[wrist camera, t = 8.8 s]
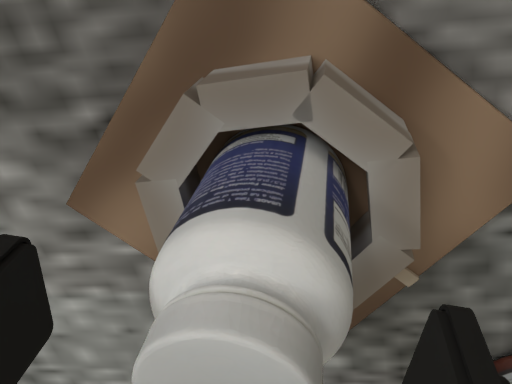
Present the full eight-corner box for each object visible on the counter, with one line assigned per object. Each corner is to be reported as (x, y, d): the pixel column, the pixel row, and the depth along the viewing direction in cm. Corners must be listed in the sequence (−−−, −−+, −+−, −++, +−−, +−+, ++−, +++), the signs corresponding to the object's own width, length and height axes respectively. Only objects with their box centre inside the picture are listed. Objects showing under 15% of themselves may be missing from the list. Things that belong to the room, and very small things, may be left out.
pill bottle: (190, 196, 18) (62, 405, 10) (255, 91, 16) (157, 251, 7) (297, 260, 19) (264, 508, 10) (376, 170, 16) (419, 402, 8)
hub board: (83, 188, 21) (36, 231, 17) (242, -102, 14) (214, -119, 11) (312, 337, 23) (307, 399, 20) (543, 147, 16) (594, 193, 13)
